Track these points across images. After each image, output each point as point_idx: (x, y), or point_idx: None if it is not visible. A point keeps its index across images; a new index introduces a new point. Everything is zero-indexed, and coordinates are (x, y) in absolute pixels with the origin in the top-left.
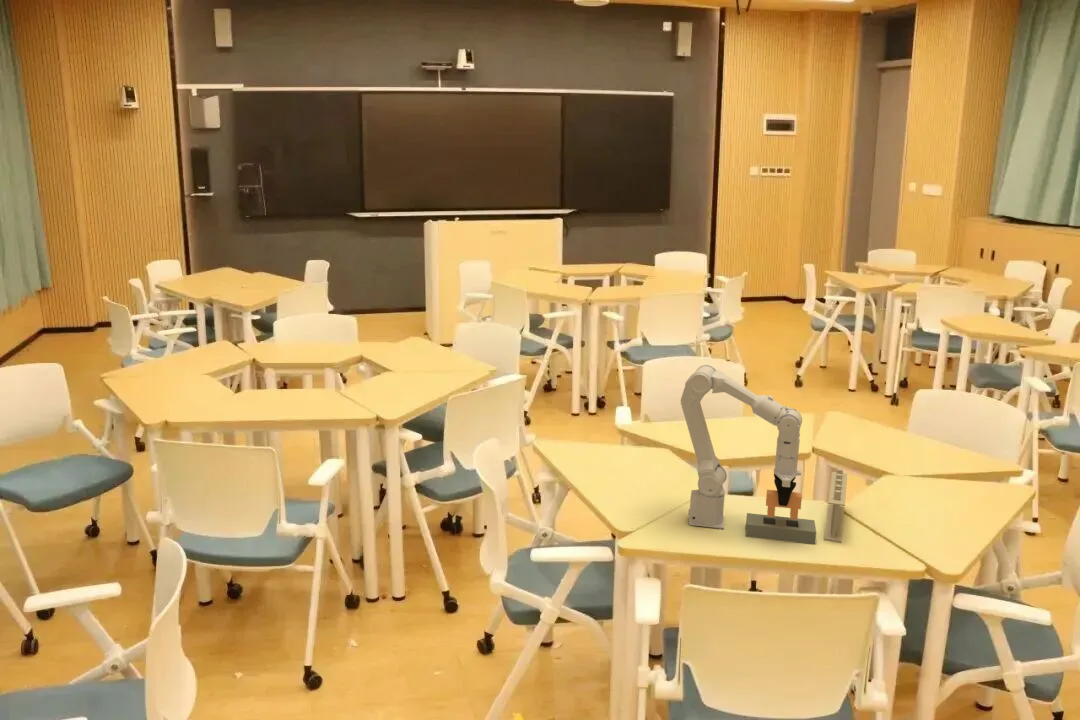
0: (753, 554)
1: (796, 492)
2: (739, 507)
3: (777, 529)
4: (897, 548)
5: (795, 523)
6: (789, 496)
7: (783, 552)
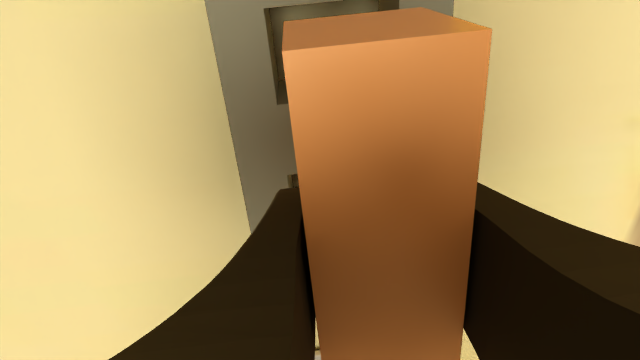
0: (614, 203)
1: (295, 133)
2: (60, 325)
3: None
4: None
5: (266, 24)
6: (549, 221)
7: (582, 65)
